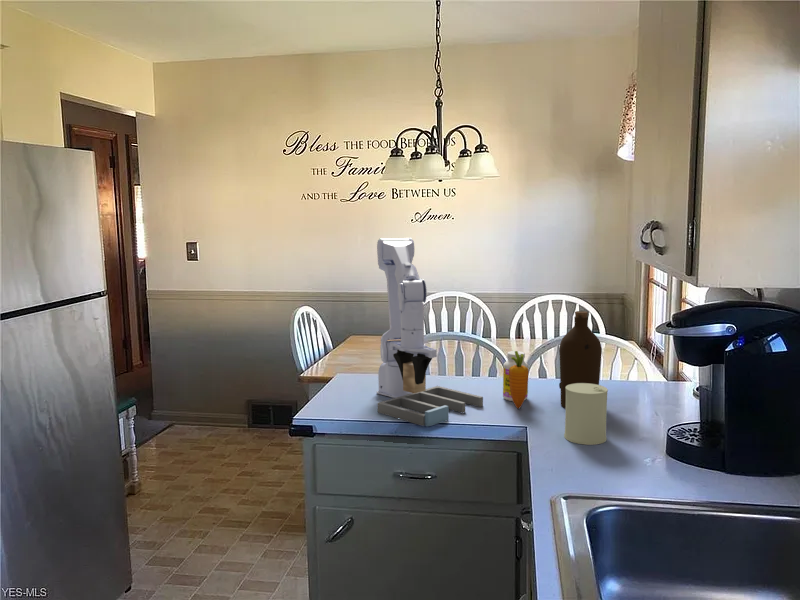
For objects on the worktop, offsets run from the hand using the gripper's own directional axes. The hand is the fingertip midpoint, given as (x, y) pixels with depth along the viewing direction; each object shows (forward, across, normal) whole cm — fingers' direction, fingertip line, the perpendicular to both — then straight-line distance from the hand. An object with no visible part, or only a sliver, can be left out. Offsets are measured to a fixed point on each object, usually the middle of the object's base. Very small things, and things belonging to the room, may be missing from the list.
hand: (412, 381), depth 165 cm
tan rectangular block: (+2, 0, 0) cm, 2 cm away
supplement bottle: (+9, +10, +30) cm, 33 cm away
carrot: (+9, +16, +23) cm, 29 cm away
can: (+9, +40, +15) cm, 43 cm away
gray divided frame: (+9, 0, +7) cm, 11 cm away
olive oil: (+9, +26, +36) cm, 45 cm away
